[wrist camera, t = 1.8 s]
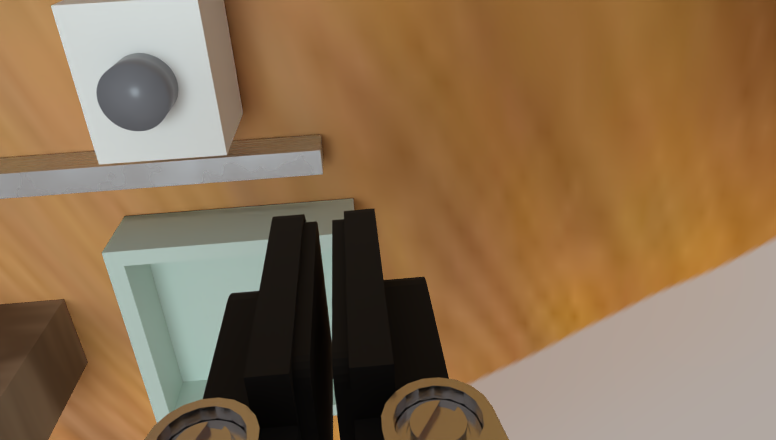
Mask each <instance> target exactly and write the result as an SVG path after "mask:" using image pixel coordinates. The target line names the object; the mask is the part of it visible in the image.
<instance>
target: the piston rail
mask: <svg viewBox="0 0 776 440" xmlns="http://www.w3.org/2000/svg"><path fill="white" fill-rule="evenodd" d="M319 174H323V149H322V139H321V135H308V136H294V137H281V138H267V139H253V140H239V141H232V143H231V146H230V149H229V151H228V154H227V155H221V156H208V157H194V158H181V159H167V160H154V161H140V162H127V163H113V164H100V165H99V163H98V160H97V156H96V153H95V151H89V152H75V153H62V154H48V155H34V156H21V157H7V158H0V199H3V198H17V197H30V196H43V195H56V194H69V193H82V192H96V191H109V190H122V189H135V188H148V187H161V186H174V185H188V184H201V183H214V182H227V181H240V180H253V179H267V178H280V177H293V176H306V175H319Z"/></svg>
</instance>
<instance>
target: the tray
mask: <svg viewBox="0 0 776 440" xmlns="http://www.w3.org/2000/svg"><path fill="white" fill-rule="evenodd" d="M351 210H354V201H353V199H340V200H327V201H314V202H301V203H289V204H276V205H263V206H250V207H237V208H224V209H212V210H199V211H186V212H173V213H160V214H147V215H135V216H124V218H123V220H122V221H121V223H120V224H119V226H118V228H117V229H116V231H115V232H114V234H113V236H112V237H111V239H110V240H109V242H108V244H107V245H106V247H105V248H104V250H103V252H102V255H103V258H104V261H105V264H106V268H107V271H108V274H109V277H110V280H111V283H112V286H113V289H114V292H115V295H116V298H117V301H118V304H119V308H120V311H121V314H122V317H123V320H124V323H125V326H126V329H127V332H128V335H129V338H130V341H131V344H132V347H133V351H134V354H135V357H136V360H137V363H138V366H139V369H140V372H141V375H142V378H143V381H144V384H145V387H146V391H147V394H148V397H149V400H150V403H151V406H152V409H153V412H154V415H155V418H156V421H157V423H158V422H159V421H160V420H161V419H162V418H164V417H165V416H166V415H167V414H169V413H170V412H172V411H174V410H176V409H177V408H179V407H181V406H183V405H185V404H188V403H191V402H195V401H198V400H201V399H203V396H204V392H205V388H206V384H207V380H208V376H209V372H210V368H211V364H212V360H213V356H214V352H215V348H216V344H217V340H218V336H219V332H220V328H221V324H222V320H223V316H224V312H225V308H226V304H227V300H228V298H229V295H230V294H231V293H239V292H250V291H259V288H260V283H261V277H262V272H263V266H264V261H265V255H266V250H267V244H268V238H269V233H270V227H271V222H272V218H273V217H275V216H288V215H300V214H304V215H305V218H306V222H314V221H317V223H318V230H319V238H320V246H321V255H322V263H323V272H324V280H325V288H326V297H327V305H328V314H329V322H330V331H331V339H332V220H339V219H344V211H351ZM333 415H337V409H336V400H335V392H334V383H333Z"/></svg>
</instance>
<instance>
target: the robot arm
mask: <svg viewBox="0 0 776 440" xmlns="http://www.w3.org/2000/svg"><path fill="white" fill-rule="evenodd" d="M333 383H334V392H335V400H336V409H337V417H338V425H339V433H340V440H509V439H508V437H507V435H506V433H505V431H504V429H503V427H502V425H501V423H500V421H499V419H498V417H497V415H496V413H495V411H494V409H493V407H492V405H491V404H490V403H489V401H488V400H487V399H486V397H485V396H484V395H483V394H482V393H480V392H479V391H478V390H476V389H475V388H474V387H472V386H471V385H468V384H465V383H463V382H460V381H458V380H454V379H449V377H448V373H447V369H446V364H445V360H444V356H443V352H442V347H441V343H440V339H439V334H438V330H437V326H436V322H435V317H434V313H433V309H432V304H431V300H430V296H429V292H428V287H427V283H426V280H425V278H424V277H416V278H404V279H392V280H383V273H382V265H381V257H380V250H379V242H378V234H377V226H376V218H375V210H374V209H363V210H351V211H344V219H339V220H332V339H331V331H330V322H329V314H328V305H327V297H326V288H325V280H324V272H323V263H322V255H321V246H320V238H319V230H318V223H317V221H314V222H306V218H305V215H304V214H300V215H288V216H275V217H273V218H272V222H271V227H270V233H269V238H268V244H267V250H266V255H265V261H264V266H263V272H262V277H261V283H260V288H259V291H250V292H239V293H231V294H230V295H229V298H228V300H227V304H226V308H225V312H224V316H223V320H222V324H221V328H220V332H219V336H218V340H217V344H216V348H215V352H214V356H213V360H212V364H211V368H210V372H209V376H208V380H207V384H206V388H205V392H204V396H203V399H201V400H198V401H195V402H191V403H188V404H185V405H183V406H181V407H179V408H177V409H176V410H174V411H172V412H170V413H169V414H167V415H166V416H165V417H164V418H162V419H161V420H160V421H159V422H158V423H157V424H156V425H154V427H153V428H152V429H151V431H150V432H149V434H148V435H147V437H146V438H145V439H144V440H333Z"/></svg>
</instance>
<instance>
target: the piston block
mask: <svg viewBox="0 0 776 440" xmlns="http://www.w3.org/2000/svg"><path fill="white" fill-rule="evenodd" d="M51 8H52V11H53V14H54V18H55V21H56V24H57V27H58V31H59V34H60V37H61V41H62V44H63V47H64V51H65V54H66V57H67V60H68V64H69V67H70V70H71V74H72V77H73V80H74V84H75V87H76V90H77V94H78V97H79V100H80V103H81V107H82V110H83V113H84V117H85V120H86V123H87V127H88V130H89V133H90V136H91V140H92V143H93V146H94V150H95V153H96V156H97V160H98V163H99V165H100V164H113V163H127V162H140V161H154V160H167V159H181V158H194V157H208V156H221V155H227V154H228V151H229V149H230V146H231V143H232V141H233V138H234V136H235V133H236V131H237V128H238V125H239V123H240V120H241V118H242V115H243V110H242V104H241V98H240V92H239V86H238V80H237V74H236V68H235V63H234V57H233V51H232V45H231V39H230V33H229V27H228V21H227V15H226V10H225V4H224V0H63V1H60V2H58V3H56V4H53V5H51Z"/></svg>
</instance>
